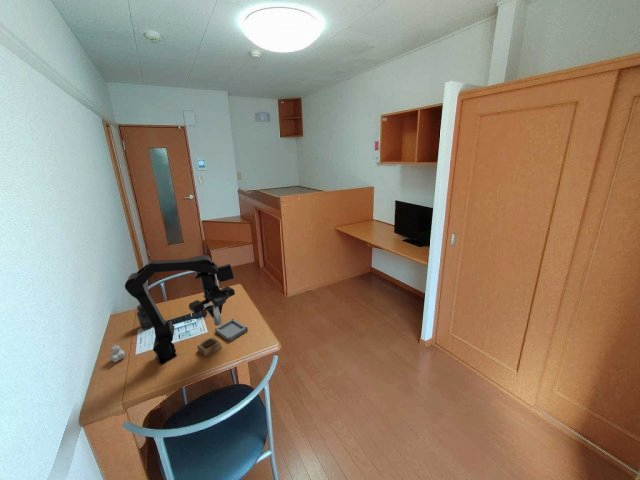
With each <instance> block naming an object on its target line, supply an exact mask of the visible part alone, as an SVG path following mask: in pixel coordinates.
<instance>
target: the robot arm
mask: <svg viewBox="0 0 640 480" xmlns="http://www.w3.org/2000/svg"><path fill="white" fill-rule="evenodd" d="M181 271H182V272H183V271H191V272H194V273H195V274H194V279H200V284H201V290H202V291H203V298H204V299H203V300H201V301H200V300H198V299H196V300H194V301H192V302H190V303H189V305H188V309H189V310H190V311H191V312H192V313H194V314H199V313H200V312H202V311H206V312H207V313H208V314H209V315H210V317H211V318H212V319H213V318H214V315H213V312H212V309H211V308H212V306H210V304H211V303H213V304H214V305H215V306H216V307H219V311H220V315H221V314H222V312H223V311H222V310H223V307H224V304H226V302H227V300H228V299H230V298H231V297H232V296H235V295H236V292H235V289H234V288H232V287H230V286H228V285H227V286H224V287H222V288H220V287H219V285H217V281H218V282H221V283H222V282H223V283H224V282H226V281H231V280H234V279H235V277H234V272H233V270H232V267H231V263H227V264H225V265H220V266H218V264H216V263H215V262H213V261H212V258H211V257H210V256H209V255H207V254H201V255H197V256H196V255H195V256H193V257H190V258H187V259H186V258H182V259H165V260H164V259H163V260H154V259H153V260H150V261H148V262H147V264H145V265H144V266H142V267H141V268H140V269H139V270H137V271H136V272H132V273H131V274H129V276H128V278H127V279H126V281H125V284H124V289H125V290H126V291H127V293H128V294H129V295H130V296H131V297H133V298H134V299H136V300H137V301H138V303H139V305H141V306H142V308H143V310H144V311H145V313H146V315H147V317H148V318H149V320H150V322H151V323H152V325H153V327H152V328H153V329H154V335H155V337H154V343H153V347H152V351H153V352H154V354H155V359H156V361H157V362H158V363H159V364H160V365H163V364H165V363H166V362H169V361H170V360H172V359H174V358H176V357H177V356H178V354H177V352H176V351H177V350H176V347H175V344H174V343H173V340H174V335H175V325H173V323H172V319H170V320H166V319H164V317H163V315H162V313H161V311H160V310H159V308H158V306H157V303H155V301H154V299H153V298H152V295H151V293H150V292H149V285H148V283H147V281H149V279H150V278H151V277H152V276H153V275H154V274H155V273H166V272H168V273H169V272H181ZM215 275H216V276H215ZM216 280H217V281H216Z"/></svg>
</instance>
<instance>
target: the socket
mask: <svg viewBox="0 0 640 480" xmlns="http://www.w3.org/2000/svg"><path fill="white" fill-rule="evenodd" d="M196 346H197V351H198V352H199V353H201V355H203V356H204V358H208V357H209V356H211V355H212V354H214V353H216V352H218V351H219V350H221V349H222V346H221V342H220V341H219V340H217V339H216V338H215V337H213V336H210V337H208V338H207V339H205V340H203V341H201V342H200V343H198V344H196ZM207 347H208V348H207Z"/></svg>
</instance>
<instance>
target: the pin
mask: <svg viewBox="0 0 640 480" xmlns="http://www.w3.org/2000/svg"><path fill="white" fill-rule="evenodd" d="M209 305H210V306H212V308H211V309H212V312H213V315H214V318H212V319H213V323H214V326H217V327H219V326H221V325H223V320H222V316H221V314H220V311H219V307H216V306H215V305H214V304H213V303H212V302H210V303H209Z"/></svg>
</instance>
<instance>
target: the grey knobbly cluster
mask: <svg viewBox="0 0 640 480" xmlns="http://www.w3.org/2000/svg"><path fill="white" fill-rule="evenodd" d="M110 352H111V353H110V355H109V356H108V359H109V360H110V361H113V363H116V362H118V361H120V360H122V359H124V358H125V355H126V352H125V350H123V349H121V347H120V346H119V345H118V344H115V343H113V345H111V348H110Z"/></svg>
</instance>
